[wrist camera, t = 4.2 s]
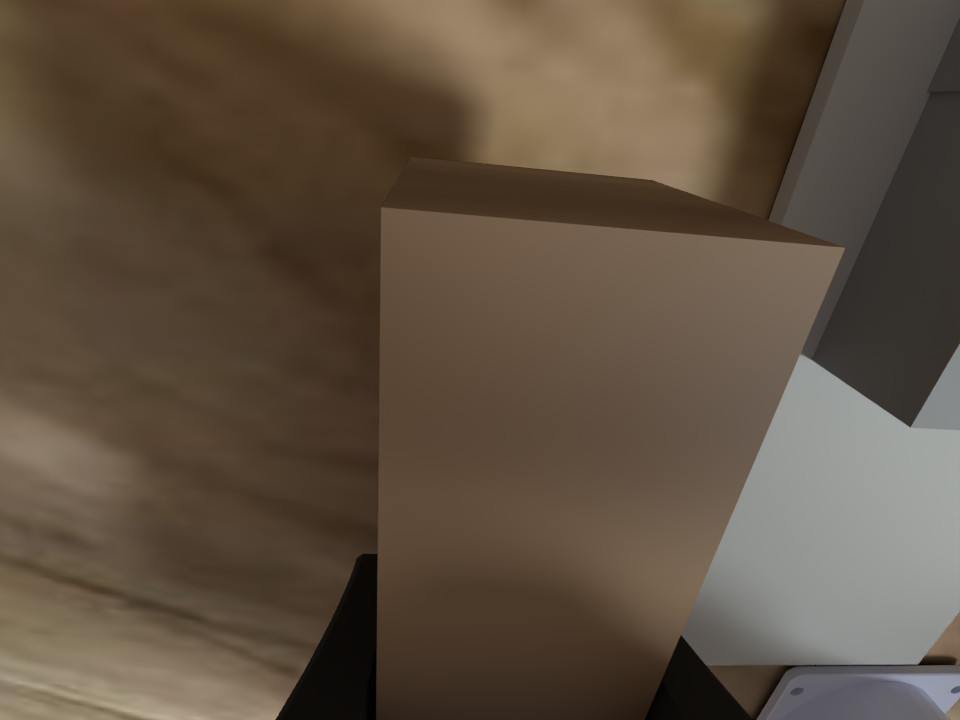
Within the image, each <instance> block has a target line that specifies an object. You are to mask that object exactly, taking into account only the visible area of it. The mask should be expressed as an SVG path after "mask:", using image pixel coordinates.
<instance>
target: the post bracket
mask: <svg viewBox="0 0 960 720" xmlns="http://www.w3.org/2000/svg"><path fill="white" fill-rule="evenodd" d="M768 221H770V222H773V223H776V224H779V225H782V226H785V227H787V228H790V229H793V230H796V231H799V232H802V233H805V234H808V235H810V236H813V237H816V238H819V239H822V240H825V241H828V242H830V243H833V244H836V245H839V246H842V247H845V250H844V252H843V255H842V257H841V259H840V262H839V264H838V266H837V269H836V271H835V274H834V276H833V278H832V281H831V283H830V285H829V288H828V290H827V292H826V295H825V297H824V299H823V302H822V304H821V306H820V309H819V311H818V314H817V316H816V318H815V321H814V323H813V325H812V328H811V330H810V332H809V335H808V337H807V339H806V342H805V344H804V346H803V349H802V351H801V353H800V356H799V358H798V361H797V363H796V365H795V368H794V370H793V372H792V375H791V377H790V379H789V382H788V384H787V386H786V389H785V391H784V393H783V396H782V398H781V400H780V403H779V405H778V408H777V410H776V412H775V415H774V417H773V419H772V422H771V424H770V426H769V429H768V431H767V433H766V436H765V438H764V440H763V443H762V445H761V448H760V450H759V452H758V455H757V457H756V459H755V462H754V464H753V466H752V469H751V471H750V473H749V476H748V478H747V480H746V483H745V485H744V487H743V490H742V492H741V495H740V497H739V499H738V502H737V504H736V506H735V509H734V511H733V513H732V516H731V518H730V520H729V523H728V525H727V527H726V530H725V532H724V534H723V537H722V539H721V542H720V544H719V546H718V549H717V551H716V553H715V556H714V558H713V560H712V563H711V565H710V567H709V570H708V572H707V574H706V577H705V579H704V582H703V584H702V586H701V589H700V591H699V593H698V596H697V598H696V600H695V603H694V605H693V607H692V610H691V612H690V614H689V617H688V619H687V621H686V624H685V626H684V629H683V631H682V633H681V635H682V636H683V638H684V639H685V640H686V641H687V642H688V644H689V645H690V646H691V647H692V649H693V650H694V651H695V652H696V654H697V655H698V656H699V657H700V658H701V660H702V661H703V662H704V663H705V665H706V666H731V665H899V664H919V662H920V661H921V660H922V659H923V657H924V656H925V655H926V654H927V652H928V651H929V650H930V649H931V647H932V646H933V645H934V644H935V642H936V641H937V640H938V638H939V637H940V636H941V635H942V633H943V632H944V631H945V630H946V628H947V627H948V626H949V625H950V623H951V622H952V621H953V620H954V618H955V617H956V616H957V615H958V613H959V612H960V0H846V3H845V6H844V9H843V11H842V14H841V17H840V20H839V23H838V26H837V28H836V31H835V34H834V37H833V40H832V42H831V45H830V48H829V51H828V54H827V56H826V59H825V62H824V65H823V68H822V71H821V73H820V76H819V79H818V82H817V85H816V87H815V90H814V93H813V96H812V99H811V101H810V104H809V107H808V110H807V113H806V116H805V118H804V121H803V124H802V127H801V130H800V132H799V135H798V138H797V141H796V144H795V146H794V149H793V152H792V155H791V158H790V161H789V163H788V166H787V169H786V172H785V175H784V177H783V180H782V183H781V186H780V189H779V191H778V194H777V197H776V200H775V203H774V205H773V208H772V211H771V214H770V217H769V220H768Z"/></svg>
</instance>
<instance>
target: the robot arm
mask: <svg viewBox="0 0 960 720" xmlns="http://www.w3.org/2000/svg"><path fill="white" fill-rule="evenodd" d="M377 571H378V554H362V555H361V556H359V557H358V558H357V560H356V563H355V566H354V569H353V572H352V574H351V577H350V579H349V582H348V584H347V587H346V589H345V592H344V594H343V596H342V598H341V601H340V603H339V605H338V607H337V609H336V611H335V613H334V615H333V618H332V620H331V622H330V624H329V626H328V627H327V629H326V631H325V633H324V635H323V637H322V639H321V641H320V643H319V645H318V647H317V649H316V650H315V652H314V654H313V656H312V658H311V660H310V662H309V664H308V665H307V667H306V669H305V671H304V673H303V674H302V676H301V678H300V679H299V681H298V683H297V684H296V686H295V688H294V689H293V691H292V693H291V695H290V696H289V698H288V700H287V701H286V703H285V705H284V706H283V708H282V710H281V711H280V713H279V715H278V717H277V718H276V720H376V673H377ZM959 698H960V665H903V666H797V667H793V668H791V669H789V670H787V671H786V673H785V674H784V675H783V677H782V679H781V680H780V682H779V684H778V685H777V687H776V688H775V690H774V692H773V693H772V695H771V697H770V698H769V700H768V702H767V703H766V705H765V706H764V708H763V710H762V711H761V713H760V715H759V716H758V718H757V719H756V720H949V718H948V717H947V716H946V715H945V714H946V712H947V711H948V710H949V709H950V708H951V707H952V706H953V705H954V704H955V702H956V701H957V700H958V699H959ZM645 720H753V719H752V718H751V717H750V716H749V714H748V713H747V712H746V711H745V710H744V709H743V708H742V706H741V705H740V704H739V703H738V702H737V701H736V700H735V699H734V697H733V696H732V695H731V694H730V693H729V692H728V691H727V689H726V688H725V687H724V686H723V685H722V684H721V682H720V681H719V680H718V679H717V678H716V677H715V675H714V674H713V673H712V672H711V671H710V669H709V668H708V667H707V666H706V665H705V663H704V662H703V661H702V660H701V658H700V657H699V656H698V655H697V654H696V652H695V651H694V650H693V649H692V647H691V646H690V645H689V644H688V642H687V641H686V640H685V639H684V638H683V636H682V635H681V636H680V638H679V640H678V643H677V645H676V647H675V650H674V652H673V654H672V657H671V659H670V661H669V664H668V666H667V668H666V671H665V673H664V676H663V678H662V680H661V683H660V685H659V687H658V690H657V692H656V694H655V697H654V699H653V701H652V704H651V706H650V708H649V711H648V713H647V716H646V718H645Z"/></svg>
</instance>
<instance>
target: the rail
mask: <svg viewBox="0 0 960 720" xmlns="http://www.w3.org/2000/svg"><path fill="white" fill-rule="evenodd" d="M844 250H845V247H842V246H839V245H836V244H833V243H830V242H828V241H825V240H822V239H819V238H816V237H813V236H810V235H808V234H805V233H802V232H799V231H796V230H793V229H790V228H787V227H785V226H782V225H779V224H776V223H773V222H770V221H767V220H765V219H762V218H759V217H756V216H753V215H750V214H747V213H744V212H742V211H739V210H736V209H733V208H730V207H727V206H724V205H722V204H719V203H716V202H713V201H710V200H707V199H704V198H701V197H699V196H696V195H693V194H690V193H687V192H684V191H681V190H678V189H676V188H673V187H670V186H667V185H664V184H661V183H658V182H656V181H653V180H645V179H635V178H625V177H614V176H604V175H594V174H584V173H574V172H564V171H553V170H543V169H533V168H523V167H513V166H503V165H492V164H482V163H472V162H462V161H452V160H441V159H431V158H421V157H410V159H409V160H408V162H407V164H406V166H405V167H404V169H403V171H402V172H401V174H400V176H399V178H398V179H397V181H396V183H395V184H394V186H393V188H392V189H391V191H390V193H389V195H388V196H387V198H386V200H385V201H384V203H383V205H382V207H381V263H380V366H379V468H378V571H377V673H376V720H645V718H646V716H647V713H648V711H649V708H650V706H651V704H652V701H653V699H654V697H655V694H656V692H657V690H658V687H659V685H660V683H661V680H662V678H663V676H664V673H665V671H666V668H667V666H668V664H669V661H670V659H671V657H672V654H673V652H674V650H675V647H676V645H677V643H678V640H679V638H680V636H681V633H682V631H683V629H684V626H685V624H686V621H687V619H688V617H689V614H690V612H691V610H692V607H693V605H694V603H695V600H696V598H697V596H698V593H699V591H700V589H701V586H702V584H703V582H704V579H705V577H706V574H707V572H708V570H709V567H710V565H711V563H712V560H713V558H714V556H715V553H716V551H717V549H718V546H719V544H720V542H721V539H722V537H723V534H724V532H725V530H726V527H727V525H728V523H729V520H730V518H731V516H732V513H733V511H734V509H735V506H736V504H737V502H738V499H739V497H740V495H741V492H742V490H743V487H744V485H745V483H746V480H747V478H748V476H749V473H750V471H751V469H752V466H753V464H754V462H755V459H756V457H757V455H758V452H759V450H760V448H761V445H762V443H763V440H764V438H765V436H766V433H767V431H768V429H769V426H770V424H771V422H772V419H773V417H774V415H775V412H776V410H777V408H778V405H779V403H780V400H781V398H782V396H783V393H784V391H785V389H786V386H787V384H788V382H789V379H790V377H791V375H792V372H793V370H794V368H795V365H796V363H797V361H798V358H799V356H800V353H801V351H802V349H803V346H804V344H805V342H806V339H807V337H808V335H809V332H810V330H811V328H812V325H813V323H814V321H815V318H816V316H817V314H818V311H819V309H820V306H821V304H822V302H823V299H824V297H825V295H826V292H827V290H828V288H829V285H830V283H831V281H832V278H833V276H834V274H835V271H836V269H837V266H838V264H839V262H840V259H841V257H842V255H843V252H844Z"/></svg>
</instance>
